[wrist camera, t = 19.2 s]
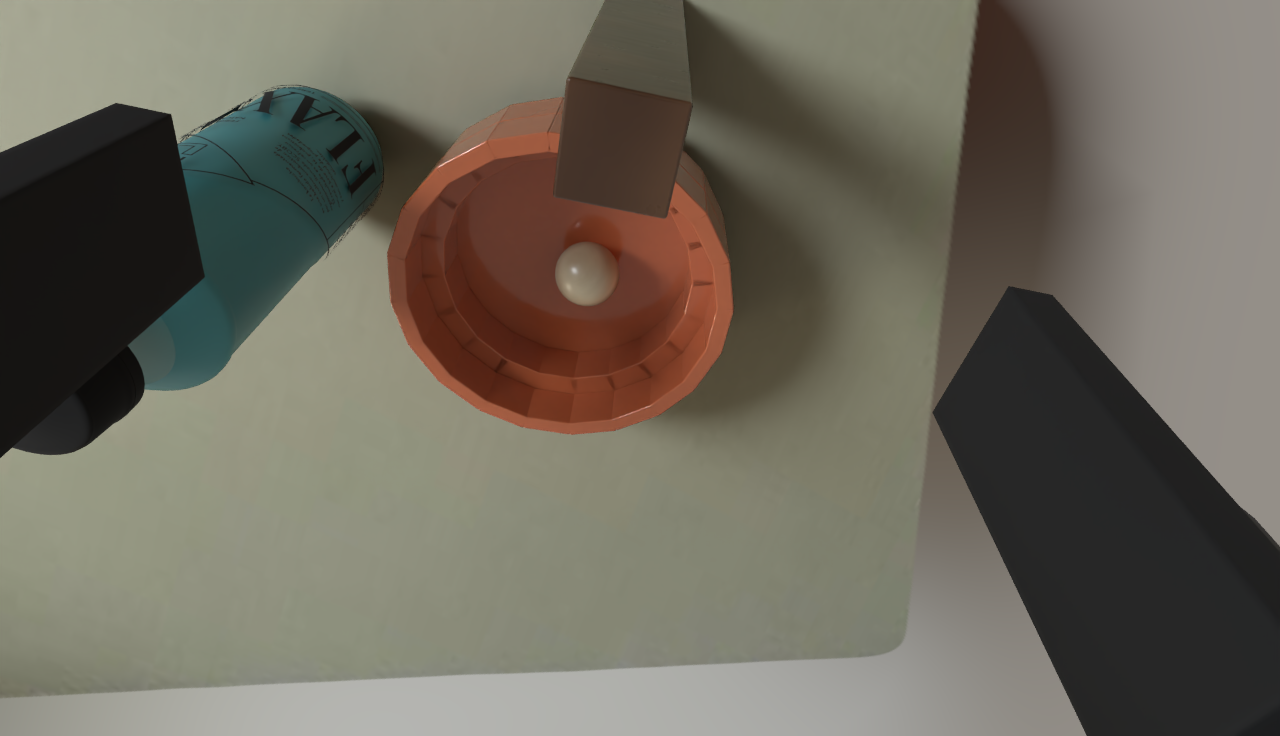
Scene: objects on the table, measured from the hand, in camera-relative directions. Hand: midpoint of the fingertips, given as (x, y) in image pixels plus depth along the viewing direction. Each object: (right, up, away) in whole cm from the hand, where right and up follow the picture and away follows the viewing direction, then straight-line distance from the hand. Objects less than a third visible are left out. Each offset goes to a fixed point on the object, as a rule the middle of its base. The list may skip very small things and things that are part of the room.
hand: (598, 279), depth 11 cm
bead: (-2, +3, +23) cm, 23 cm away
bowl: (-3, +5, +25) cm, 25 cm away
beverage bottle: (-14, +10, +22) cm, 28 cm away
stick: (+1, +13, +18) cm, 23 cm away
